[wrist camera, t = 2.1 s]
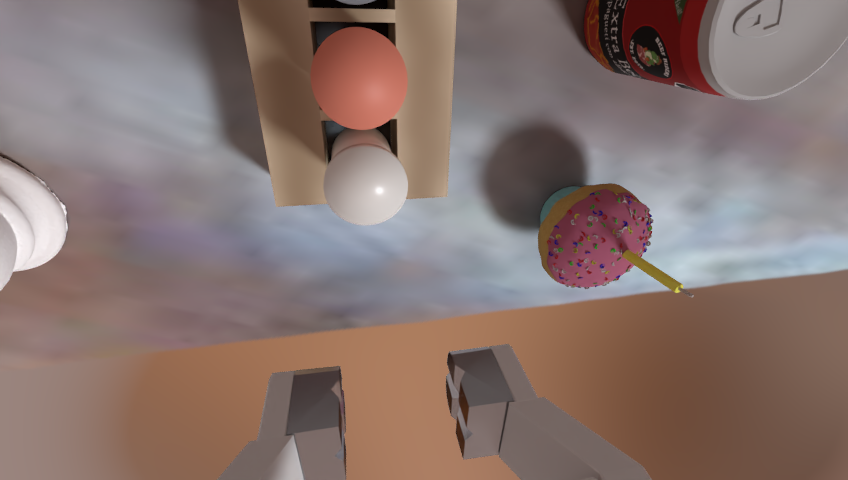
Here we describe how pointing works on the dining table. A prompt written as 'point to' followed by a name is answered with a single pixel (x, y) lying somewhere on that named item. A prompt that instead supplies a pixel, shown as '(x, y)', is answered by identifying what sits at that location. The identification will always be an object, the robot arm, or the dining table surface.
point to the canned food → (717, 42)
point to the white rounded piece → (364, 178)
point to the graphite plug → (355, 1)
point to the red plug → (359, 78)
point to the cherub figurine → (27, 221)
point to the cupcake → (596, 236)
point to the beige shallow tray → (305, 120)
